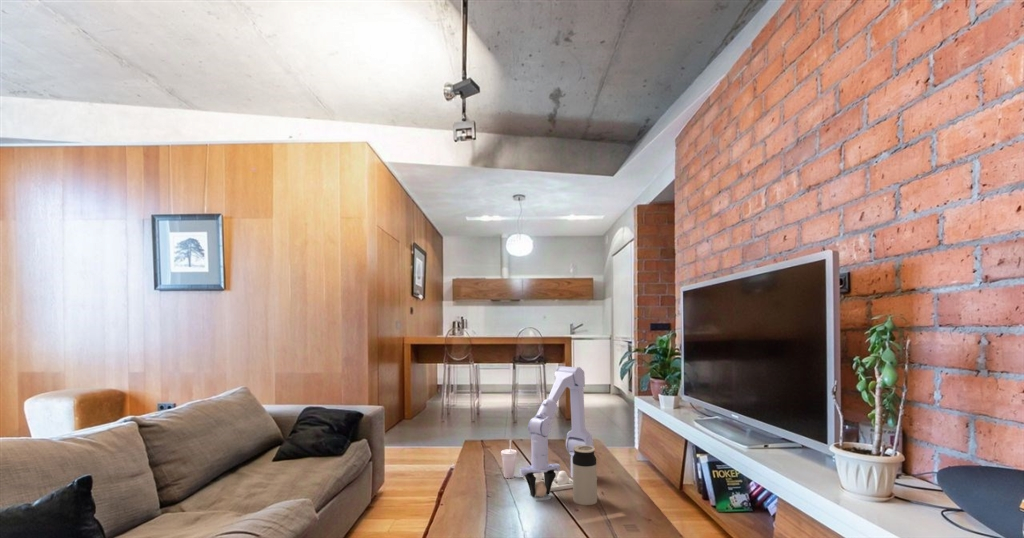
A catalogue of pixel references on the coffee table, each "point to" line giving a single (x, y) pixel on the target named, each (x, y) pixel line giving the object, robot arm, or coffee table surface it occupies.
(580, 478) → the travel mug
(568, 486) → the carton
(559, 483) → the white eggs
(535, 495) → the egg cup
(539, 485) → the brown egg
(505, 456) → the smoothie
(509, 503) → the coffee table surface
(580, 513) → the coffee table surface
